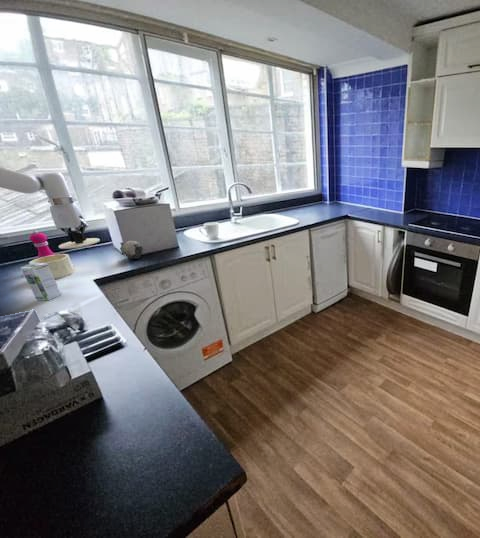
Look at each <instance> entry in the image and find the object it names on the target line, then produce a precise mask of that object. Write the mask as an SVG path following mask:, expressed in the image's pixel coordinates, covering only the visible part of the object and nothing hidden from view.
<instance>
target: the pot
mask: <svg viewBox="0 0 480 538" xmlns="http://www.w3.org/2000/svg"><path fill="white" fill-rule="evenodd" d="M55 254H56V253H55ZM34 263H44V264H45V263H47V264H48V266H49V268H50V270H51V272H52V275H53V277H54V279H55V280H58V279H61V278H65V277H67V276H71V275H72V273H73V274H74V273H75V272H76V267H75V266H74V264H73V262H72V260H71V257H70V255H69V254H68V253H57V254H56V255H50V256H45V257H41V258H38V257H37V258H35V259H32V260H31V261H29V262H28V265H30V264H34Z"/></svg>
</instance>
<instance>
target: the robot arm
mask: <svg viewBox="0 0 480 538" xmlns="http://www.w3.org/2000/svg"><path fill="white" fill-rule="evenodd" d="M0 188H1V189H5V190H8V191H13V192H17V193H21V194H27V195H28V194H29V195H31V194H35V193H37V192H39V191H44V192H45V195H46V197H47V202H48V203H49V204H50V206H49V211H50V215H51V218H52V220H53V223H54V226H55V228H56V229H57V230H60V231H62V232H64V233H65V234H66V235H67V236H68V238H69V242H70V241H71V242H75V241H74V239H73V237H72V234H71V232H70V231H71V230H73V229H74V230H76V231H77V237H78V239H79V241H80V242H83V241H85V240H86V239H87V238H86V235H85V230H86V229H88V227H89V226H90V225H89V224H88V223H87V222H86V219H85V217H84V215H83V213H82V210H81V209H80V207H79V206H78V205H77V204H76V203H75V201H74V199H73V197H72V194H71V191H70V189H69V186H68V184H67V182H66V179H65V176H64V175H63V174H62V173H61V172H59V171H58V172H57V171H55V172H54V171H52V172H41V173H27V172H26V173H24V172H23V173H21V172H19V171H15V170H11V169H7V168H3V167H0Z"/></svg>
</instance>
